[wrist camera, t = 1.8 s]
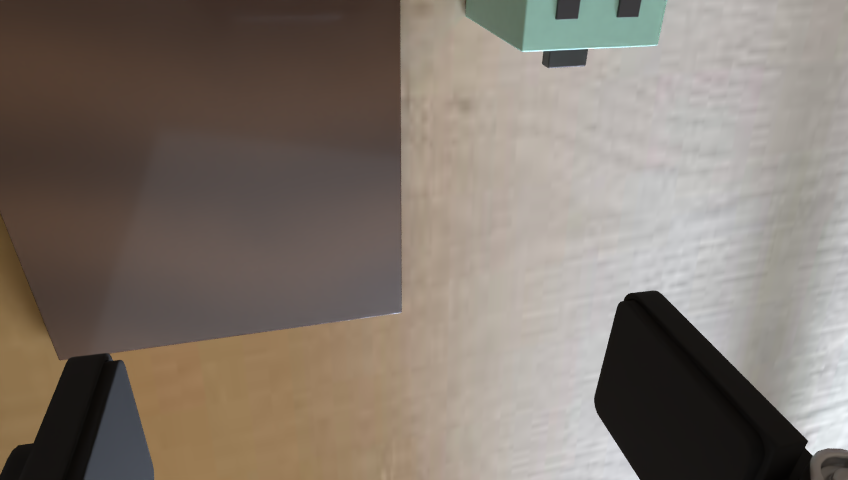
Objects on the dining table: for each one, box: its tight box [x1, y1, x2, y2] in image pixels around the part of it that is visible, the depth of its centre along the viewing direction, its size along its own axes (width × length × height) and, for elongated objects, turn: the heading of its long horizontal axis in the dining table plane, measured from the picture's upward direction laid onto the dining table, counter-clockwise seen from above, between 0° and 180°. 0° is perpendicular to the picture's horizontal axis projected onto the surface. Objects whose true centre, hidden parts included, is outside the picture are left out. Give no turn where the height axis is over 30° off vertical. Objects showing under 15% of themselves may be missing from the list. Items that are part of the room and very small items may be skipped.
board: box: [0, 0, 402, 360], centre depth 29 cm, size 21×19×1 cm
